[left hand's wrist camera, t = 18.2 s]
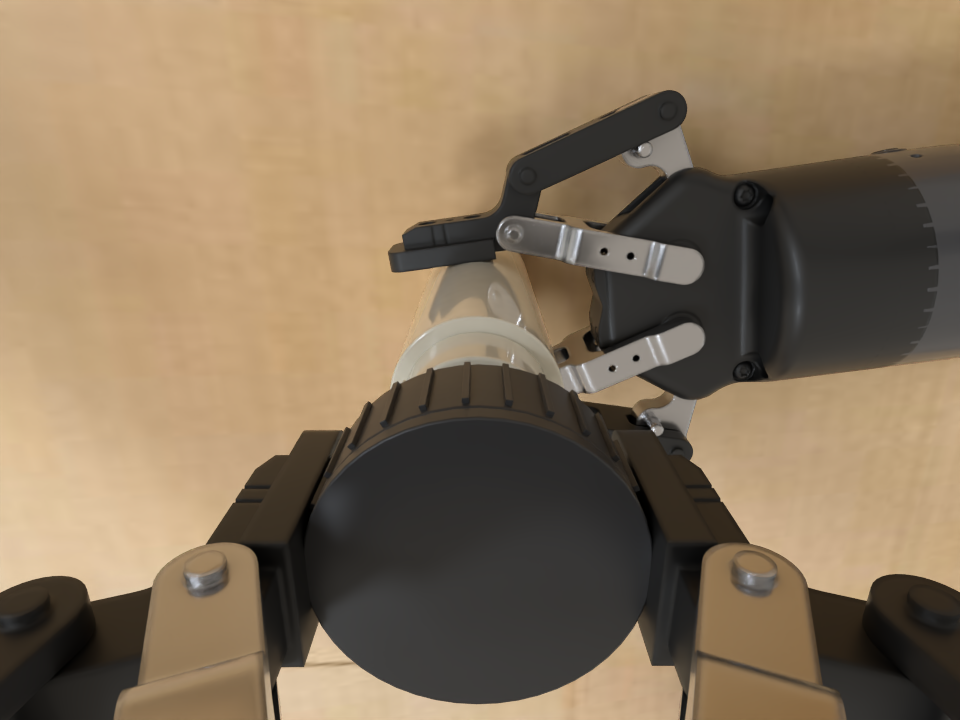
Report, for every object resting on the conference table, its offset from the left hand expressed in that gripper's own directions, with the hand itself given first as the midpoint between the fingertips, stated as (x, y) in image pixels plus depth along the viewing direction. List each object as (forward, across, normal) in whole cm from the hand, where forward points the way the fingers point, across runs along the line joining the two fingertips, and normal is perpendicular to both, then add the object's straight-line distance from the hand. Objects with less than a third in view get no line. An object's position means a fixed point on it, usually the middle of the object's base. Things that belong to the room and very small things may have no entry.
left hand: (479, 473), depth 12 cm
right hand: (+11, -3, 0) cm, 12 cm away
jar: (+17, 0, 0) cm, 17 cm away
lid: (-3, 0, 0) cm, 3 cm away
